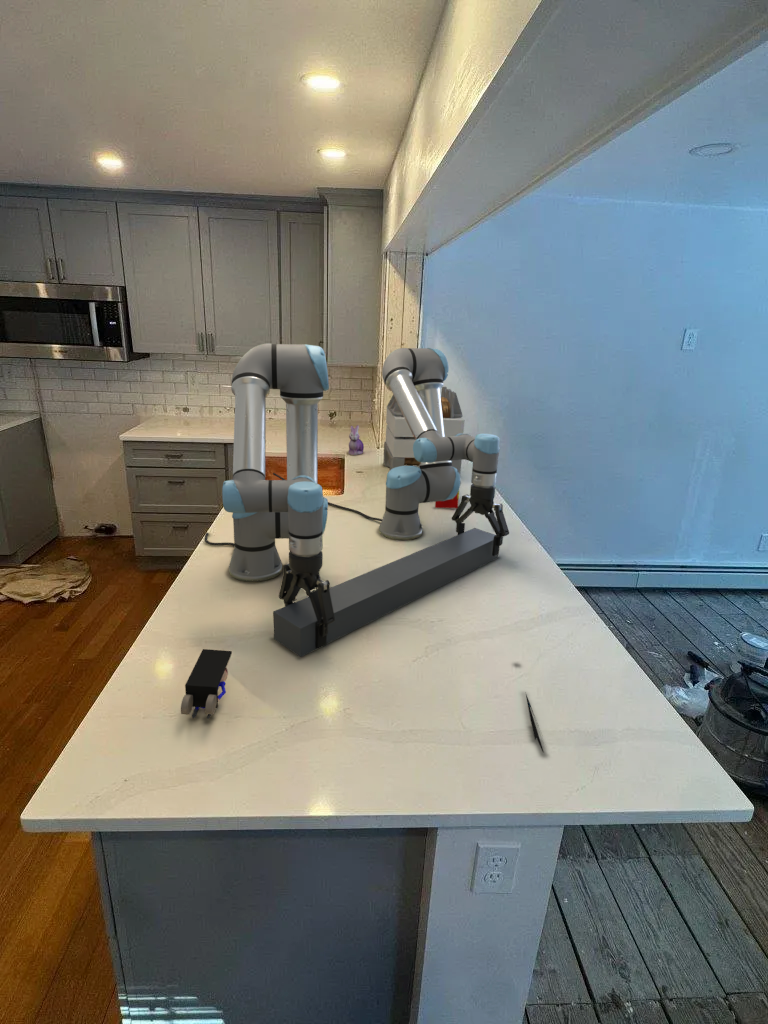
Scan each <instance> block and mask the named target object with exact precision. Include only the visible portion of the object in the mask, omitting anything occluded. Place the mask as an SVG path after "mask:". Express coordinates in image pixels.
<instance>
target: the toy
mask: <svg viewBox="0 0 768 1024" xmlns="http://www.w3.org/2000/svg"><path fill="white" fill-rule="evenodd" d="M459 498H460V490H459V491H458V492H457V495H456V496H455V497H454V498H453V499H450V500H445V501H436V502H434V508H435V509H457V508H458V506H459V500H460V499H459Z"/></svg>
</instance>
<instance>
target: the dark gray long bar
mask: <svg viewBox="0 0 768 1024" xmlns="http://www.w3.org/2000/svg"><path fill="white" fill-rule="evenodd" d="M495 535H496V533H495V534H494V533H492V532H489V531H485V530H483V529H479V528H477V527H474V528H471V529H468V530H466V531H464V532H463V533H461V534H459V535H453V536H452V537H449V538H447V539H444V540H441V541H439V542H437V543H434V544H432V545H429V546H427V547H425V548H423V549H420V550H417V551H415V552H413V553H411V554H408V555H406V556H403V557H401V558H399V559H396V560H394V561H391V562H388V563H386V564H384V565H382V566H379V567H377V568H374V569H372V570H370V571H367V572H364V573H363V574H360V575H358V576H355V577H353V578H350V579H348V580H345V581H343V582H341V583H338V584H335V585H333V586H331V587H330V589H329V591H330V596H331V601H332V606H333V612H334V617H335V621H334V622H333V623H330V624H328V634H327V643H326V645H328V644H330V643H332V642H334V641H336V640H338V639H340V638H342V637H344V636H346V635H348V634H350V633H352V632H354V631H356V630H358V629H359V628H362V627H364V626H365V625H368V624H370V623H372V622H374V621H376V620H378V619H380V618H382V617H383V616H385V615H387V614H390V613H391V612H393V611H395V610H397V609H399V608H402V607H403V606H405V605H408V604H410V603H411V602H413V601H416V600H418V599H419V598H421V597H423V596H425V595H428V594H429V593H431V592H434V591H435V590H437V589H439V588H441V587H443V586H446V585H448V584H449V583H451V582H453V581H455V580H457V579H459V578H461V577H464V576H465V575H467V574H469V573H471V572H473V571H475V570H477V569H479V568H480V567H483V566H485V565H487V564H489V563H491V562H493V561H495V560H497V559H498V558H499V556H500V553H499V554H497V555H495V556H492V551H493V541H494V536H495ZM500 548H501V546H500V547H499V549H500ZM294 602H295V603H292V604H290V605H288V606H285V605H284V606H282V607H281V608H278V609H276V610H273V611H272V621H273V640H274V641H276V642H278V643H279V644H281V645H282V646H284V647H285V648H287V649H288V650H290V651H291V652H293V653H294V654H295V655H297V656H298V657H300V658H303V657H304V656H306V655H308V654H310V653H312V652H314V651H317V650H318V649H317V648H315V634H316V623H317V622H318V620H317V617H316V615H315V612H314V609H313V606H312V603H311V600H310V597H308V596H307V597H305V598H302V599H300V600H296V601H294Z"/></svg>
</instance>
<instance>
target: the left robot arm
mask: <svg viewBox="0 0 768 1024" xmlns="http://www.w3.org/2000/svg"><path fill="white" fill-rule="evenodd" d="M230 384H231V385H230V386H231V389H230V390H231V392H232V394H233V395H234V419H233V421H234V422H233V423H234V424H233V457H232V479H228V480H224V481H223V483H222V493H221V495H222V498H221V499H222V506H223V509H224V511H225V512H226V513H232V514H231V517H232V521H233V522H232V523H233V524H232V525H233V542H212V541H209V539H208V537H209V532H206V533H205V535H204V543H206V544H207V545H210V546H231V547H234V548H233V551H232V554H231V558H230V560H229V565H228V571H229V572H228V573H229V575H230V577H232V578H233V579H235V580H238V581H241V582H247V583H248V582H249V583H255V582H265V581H268V580H272V579H274V578H276V577H278V576H279V575H280V574H281V573H283V574H282V578H281V583H280V588H279V592H278V598H279V600H283V604H284V607H285V606H288V605H290V604H292V603H295V602H296V601H298V600H297V597H298V594H299V592H300V591H301V589H302V590H303V591H304V592H305V595H306V596H307V597H310V600H311V603H312V606H313V609H314V612H315V615H316V617H317V620H318V622H317V623H316V634H315V648H317V649H316V650H319V649H321V648H322V647H325V646H326V645H327V644H326V643H327V634H328V624H330V623H333V622H334V621H335V617H334V612H333V606H332V601H331V596H330V591H329V589H330V588H331V587H330V586H331V585H330V584H331V582H330V581H329V580H328V579H326V580H323V579H321V575H320V571H321V569H322V567H323V549H324V538H323V537H324V533H325V531H326V527H327V521H328V520H327V519H328V509H329V504H328V502H329V500H328V498H327V497H325V496H324V492H323V487H322V485H320V484H319V483H318V476H319V475H318V473H319V472H318V469H319V468H318V461H319V458H318V457H319V456H318V455H319V453H318V452H319V450H318V449H319V447H318V444H319V442H318V441H319V439H318V436H319V435H318V431H319V428H318V427H319V425H318V423H319V422H318V420H319V419H318V418H319V416H318V415H319V411H318V410H319V409H318V407H319V402H320V401H321V400H323V398H324V392H326V391H328V390H329V388H330V384H329V373H328V365H327V359H326V354H325V350H324V349H323V348H322V347H321V346H320V345H314V344H289V343H288V344H285V343H284V344H283V343H279V344H278V343H268V342H267V343H261V344H258V345H256V346H254V347H252V348H250V349H249V350H248V351H246V353H244V354H243V356H242V357H241V358H240V359H239V361H238V362H237V364H236V366H235V368H234V370H233V372H232V377H231V383H230ZM271 390H279V397H280V398H281V399H282V400H283V402H284V403H285V429H286V431H285V432H286V433H285V436H286V479H285V480H282V479H266V442H267V441H266V433H267V432H266V431H267V430H266V428H267V427H266V426H267V425H266V424H267V423H266V421H267V419H266V417H267V415H266V413H267V412H266V411H267V410H266V409H267V407H266V406H267V405H266V404H267V403H266V402H267V400H266V399H267V397H268V396H269V394H270V391H271ZM276 539H281V540H282V539H288V551H289V552H288V563H286V564H284V565H283V562H282V559H281V557H280V554H279V552H278V548H277V547H276V546H277V545H276Z"/></svg>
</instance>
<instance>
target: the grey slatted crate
mask: <svg viewBox="0 0 768 1024" xmlns="http://www.w3.org/2000/svg"><path fill="white" fill-rule="evenodd" d="M440 398H441V407H442V416H443V426H444V435H445V437H452V436H455V435H457V434H459V433H463V434H464V431H465V430H464V429H465V419H464V418H463V411H462V408H461V405H460V402H459V398H458V395H457V392H455V391H453V390H452V389H451V388H447V386H442V388H441V391H440ZM385 414H386V415H385V423H386V428H385V438H384V442H383V466H384V467H388V468H389V471H390V470H391V469H393V468H395V467H399V466H406V465H407V466H417V467H419V465H420V464H421V462H418V461H417V460H416V459H415V457H414V452H413V444H414V442H415V438H414V436H413V434H412V432H411V430H410V428H409V426H408V424H407V422H406V420H405V418H404V416H403V414H402V411H401V409H400V407H399V405H398V403H397V401H396V399H395V397H394V395H393V394H392V395H391V398H390V400H389V402H388V404H387V405H386V413H385ZM462 461H463V460H452V461H451V462H452V467H454V468H456V469H457V470H458V472H459V474H460V475H461V472H462Z"/></svg>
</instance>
